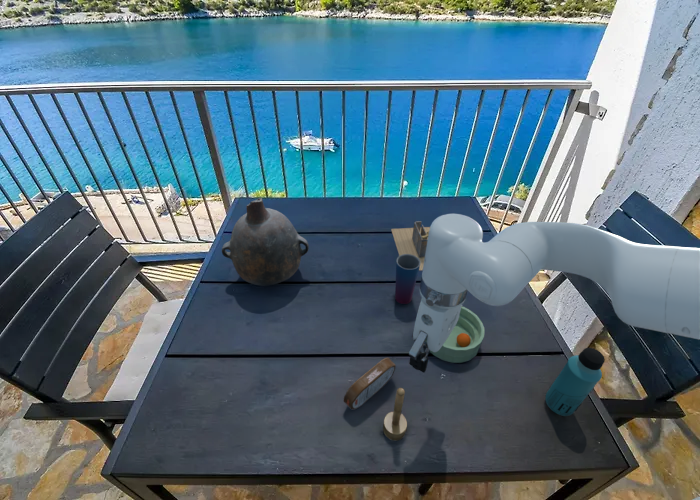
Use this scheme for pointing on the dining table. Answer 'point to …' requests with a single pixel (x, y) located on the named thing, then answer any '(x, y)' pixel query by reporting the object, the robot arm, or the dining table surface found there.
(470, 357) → the bowl
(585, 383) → the beverage bottle
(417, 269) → the cup
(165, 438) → the dining table surface
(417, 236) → the ruin model on sheet
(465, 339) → the ball
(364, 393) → the tin
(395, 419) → the wooden pestle
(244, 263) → the jug
